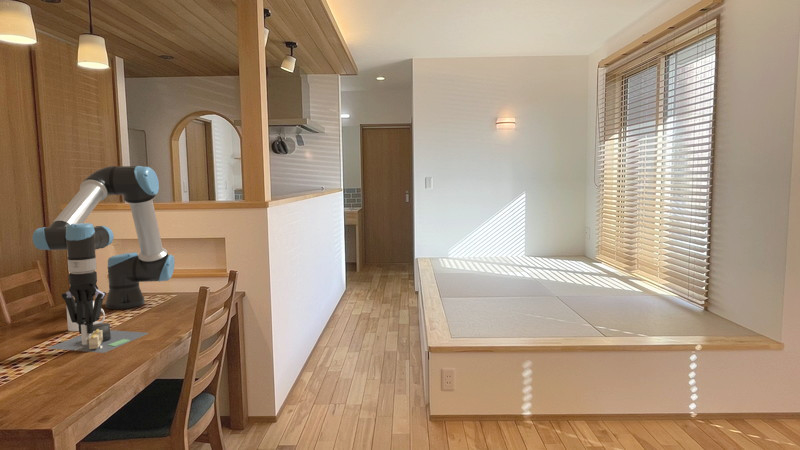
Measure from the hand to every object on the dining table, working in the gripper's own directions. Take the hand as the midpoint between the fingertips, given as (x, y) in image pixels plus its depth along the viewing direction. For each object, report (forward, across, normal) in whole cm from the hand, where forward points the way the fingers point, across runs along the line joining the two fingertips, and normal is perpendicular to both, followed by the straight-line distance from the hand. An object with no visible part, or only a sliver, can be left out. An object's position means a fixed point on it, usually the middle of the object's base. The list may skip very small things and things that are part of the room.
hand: (86, 343), depth 153 cm
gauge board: (+3, 0, +8) cm, 9 cm away
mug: (+3, -14, +23) cm, 27 cm away
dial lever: (+2, +1, +4) cm, 4 cm away
